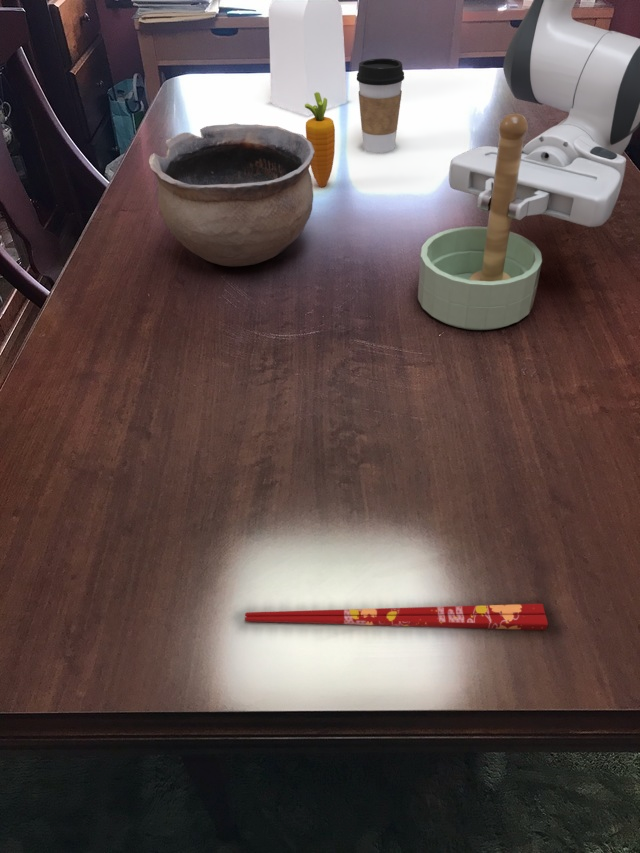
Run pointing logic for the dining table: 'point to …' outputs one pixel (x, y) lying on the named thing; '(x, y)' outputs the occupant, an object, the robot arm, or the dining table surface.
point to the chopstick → (421, 616)
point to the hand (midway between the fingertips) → (498, 208)
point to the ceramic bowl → (235, 191)
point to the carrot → (321, 141)
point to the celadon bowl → (476, 300)
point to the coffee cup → (379, 102)
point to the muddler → (502, 197)
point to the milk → (306, 54)
